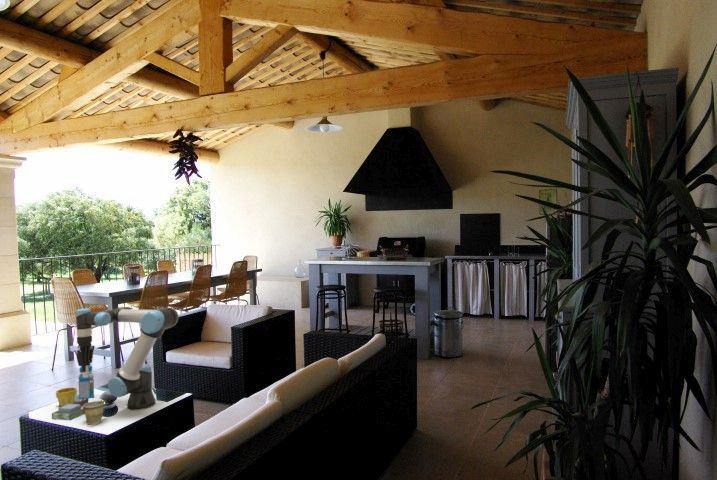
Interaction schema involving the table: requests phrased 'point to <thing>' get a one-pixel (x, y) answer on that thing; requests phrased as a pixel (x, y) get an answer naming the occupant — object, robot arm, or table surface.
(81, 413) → the lane box
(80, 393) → the beverage bottle
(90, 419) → the ceramic cup
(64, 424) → the table surface
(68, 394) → the plant pot
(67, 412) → the slate block
